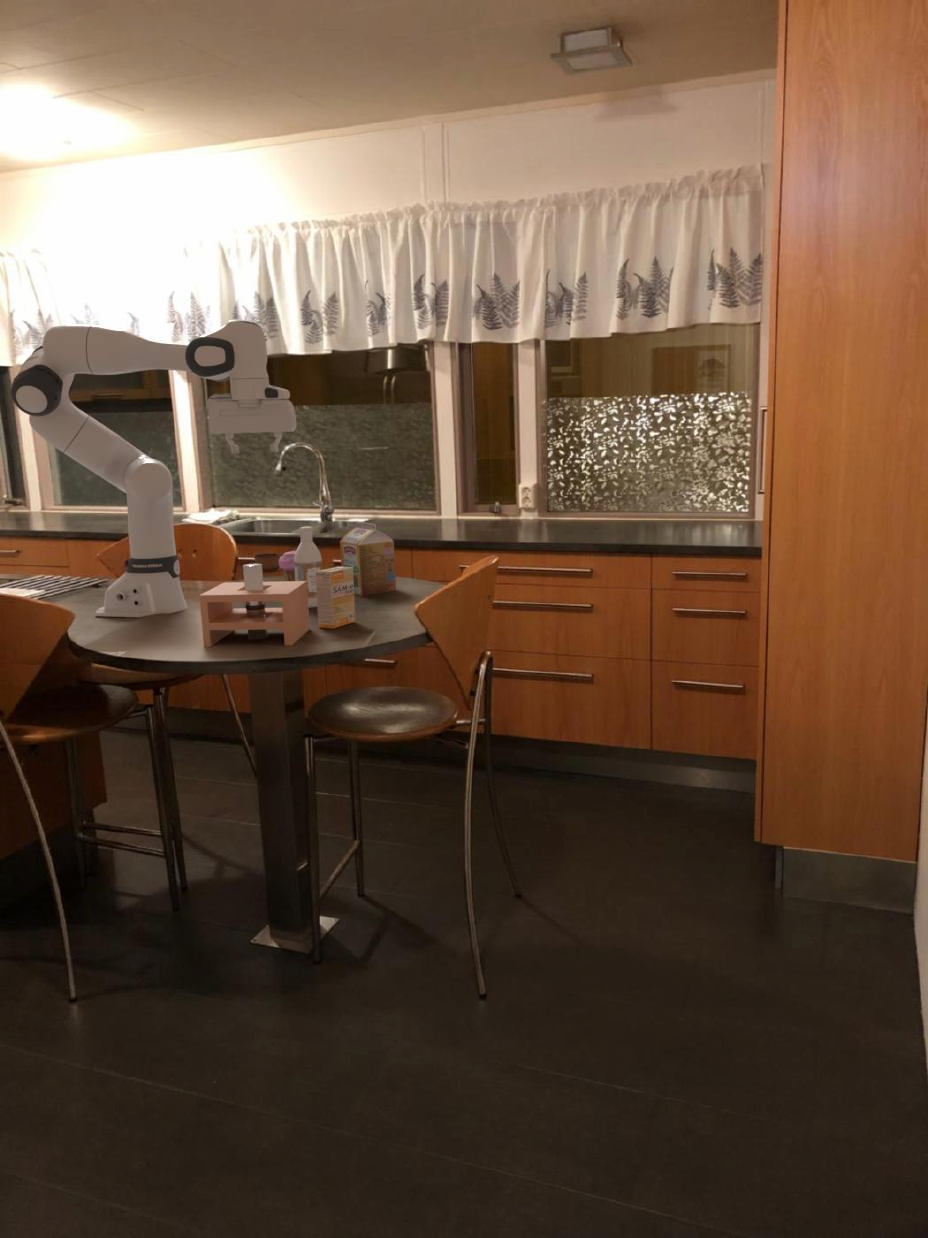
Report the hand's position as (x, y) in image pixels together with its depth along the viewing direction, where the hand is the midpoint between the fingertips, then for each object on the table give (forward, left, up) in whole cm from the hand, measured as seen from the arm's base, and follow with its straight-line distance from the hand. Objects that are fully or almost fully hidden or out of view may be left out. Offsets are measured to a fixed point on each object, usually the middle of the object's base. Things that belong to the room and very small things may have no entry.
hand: (254, 452), depth 231 cm
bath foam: (+8, +12, -39) cm, 42 cm away
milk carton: (+20, +29, -39) cm, 53 cm away
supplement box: (+20, -12, -39) cm, 46 cm away
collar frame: (+5, -24, -39) cm, 46 cm away
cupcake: (-4, +44, -39) cm, 59 cm away
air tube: (+5, -24, -39) cm, 46 cm away
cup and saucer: (-18, +64, -40) cm, 78 cm away
